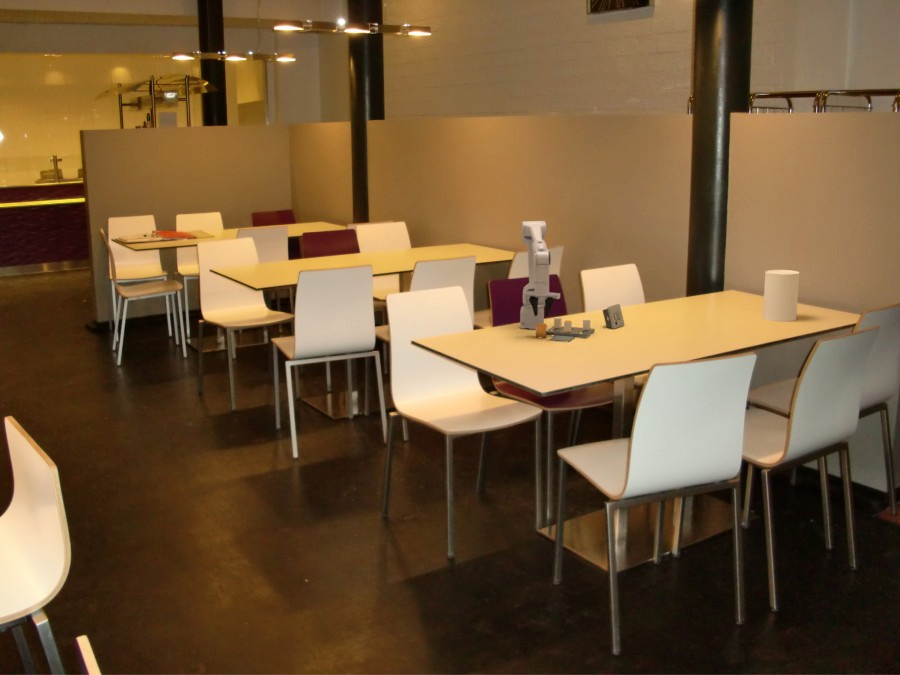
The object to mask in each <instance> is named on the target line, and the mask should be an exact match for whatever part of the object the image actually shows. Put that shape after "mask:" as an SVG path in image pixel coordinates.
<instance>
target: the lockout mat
mask: <svg viewBox="0 0 900 675" xmlns="http://www.w3.org/2000/svg"><path fill="white" fill-rule="evenodd" d="M572 339H573V340H574V339H576V338H575V337H571V336H557V335H555V336H551V338H550V339H548V340H555V341H554V342H562V341H568V342H567V343H570V342H572V341H573V340H572ZM569 341H570V342H569Z"/></svg>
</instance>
